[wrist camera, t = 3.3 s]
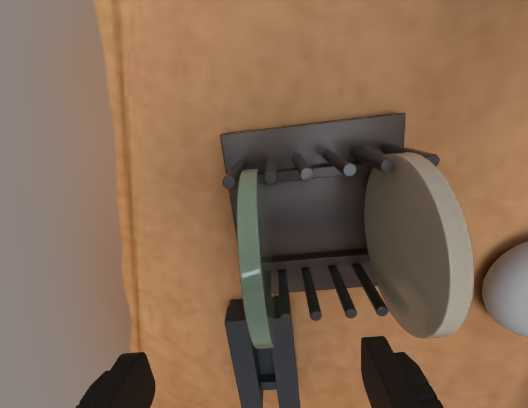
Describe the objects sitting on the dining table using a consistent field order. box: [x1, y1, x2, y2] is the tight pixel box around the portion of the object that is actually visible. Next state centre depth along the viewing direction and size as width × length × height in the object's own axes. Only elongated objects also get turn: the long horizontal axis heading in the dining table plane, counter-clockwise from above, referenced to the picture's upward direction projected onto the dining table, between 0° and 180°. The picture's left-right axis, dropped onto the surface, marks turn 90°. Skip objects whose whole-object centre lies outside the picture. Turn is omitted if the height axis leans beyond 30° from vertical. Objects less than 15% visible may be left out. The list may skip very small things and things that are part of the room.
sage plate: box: [237, 168, 276, 349], centre depth 17 cm, size 11×1×11 cm, turn 7°
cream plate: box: [364, 152, 474, 339], centre depth 16 cm, size 11×1×11 cm, turn 6°
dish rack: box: [220, 113, 439, 323], centre depth 20 cm, size 15×14×8 cm
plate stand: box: [225, 297, 300, 408], centre depth 27 cm, size 12×6×3 cm, turn 6°
